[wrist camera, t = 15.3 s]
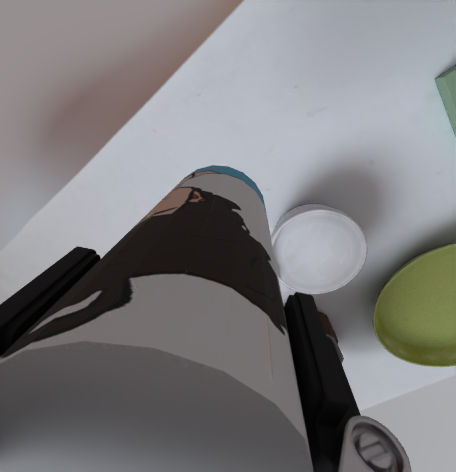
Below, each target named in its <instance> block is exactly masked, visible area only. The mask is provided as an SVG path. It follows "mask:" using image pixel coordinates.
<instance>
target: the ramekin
mask: <svg viewBox="0 0 456 472" xmlns="http://www.w3.org/2000/svg"><path fill="white" fill-rule="evenodd" d="M271 241H272V247H273V252H274V258H275V263H276V269H277V274H278V279H279V280H280V281H281V282H282V283H283V284H284V285H286V286H287V287H289V288H291V289H293V290H295V291H298V292H302V293H307V294H321V293H327V292H331V291H334V290H337V289H339V288H341V287H343V286H345V285H346V284H348V283H349V282H350V281H352V279H353V278H355V276H356V275H357V274H358V273H359V272H360V270H361V269H362V267H363V265H364V263H365V260H366V255H367V242H366V237H365V234H364V232H363V230H362V229H361V227H360V226H359V225H358V223H357V222H356V221H355V220H354V219H353V218H352V217H350V216H349V215H348V214H346V213H344V212H342V211H340V210H337V209H334V208H330V207H328V206H325V205H319V204H306V205H302V206H298V207H296V208H294V209H292V210H290V211H288V212H287V213H286V214H284V216H283V217H282V218H281V219H280V220H279V221H278V223H277V225H276V226H275V229H274V231H273V234H272V236H271Z"/></svg>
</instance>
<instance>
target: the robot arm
mask: <svg viewBox="0 0 456 472" xmlns="http://www.w3.org/2000/svg"><path fill="white" fill-rule="evenodd" d="M98 261H100V256H99V255H97V254H96V251H95V250H93V249H88V248H83V247H76V248H74V249H73V250H72V251H70V252H69V253H68V254H66V255H65V256H64V257H63V258H61V259H60V260H59V261H57V262H56V263H55V264H53V265H52V266H51V267H49V268H48V269H47V270H45V271H44V272H43V273H41V274H40V275H39V276H37V277H36V278H35V279H34V280H32V281H31V282H30V283H28V284H27V285H26V286H24V287H23V288H22V289H20V290H19V291H18V292H16V293H15V294H14V295H12V296H11V297H10V298H8V299H7V300H6V301H5V302H3V303H2V304H1V305H0V357H1V356H2V355H3V354H4V353H5V352H6V351H7V350H8V349H9V348H10V347H11V346H12V345H13V344H14V343H15V342H16V341H17V340H18V339H19V338H20V337H21V336H22V335H23V334H24V333H25V332H26V331H27V330H28V329H29V328H30V327H31V326H33V325H34V324H35V323H36V322H37V321H38V320H39V319H40V318H41V317H42V316H43V315H44V314H45V313H46V312H47V311H48V310H49V309H50V308H51V307H52V306H53V305H54V304H55V303H56V302H57V301H58V300H59V299H60V298H61V297H62V296H63V295H64V294H65V293H67V292H68V291H69V290H70V289H71V288H72V287H73V286H74V285H75V284H76V283H77V282H78V281H79V280H80V279H81V278H82V277H83V276H84V275H85V274H86V273H87V272H88V271H89V270H90V269H91V268H92V267H93V266H94V265H95V264H96V263H97V262H98ZM284 313H285V318H286V324H287V329H288V335H289V340H290V346H291V351H292V356H293V362H294V367H295V373H296V378H297V384H298V389H299V395H300V400H301V406H302V411H303V417H304V422H305V428H306V433H307V439H308V444H309V450H310V455H311V460H312V466H313V471H314V472H411V466H410V462H409V458H408V456H407V454H406V452H405V450H404V448H403V446H402V445H401V443H400V442H399V441H398V439H397V438H396V437H395V436H394V435H393V434H392V433H391V432H390V431H389V430H388V429H387V428H386V427H385V426H383V425H382V424H381V423H379V422H378V421H376V420H374V419H372V418H370V417H366V416H361V415H360V412H359V409H358V407H357V404H356V401H355V399H354V396H353V393H352V391H351V388H350V385H349V383H348V380H347V377H346V375H345V372H344V369H343V367H342V364H341V361H340V359H339V356H338V353H337V351H336V348H335V345H334V343H333V341H332V339H331V338H330V337H329V336H326V333H325V330H324V327H323V324H322V322H321V319H320V316H319V313H318V310H317V307H316V305H315V302H314V299H313V297H312V296H311V295H307V294H303V293H298V292H296V293H295V294H294V296H293V295H289V297H288V299H287V302H286V305H285V307H284Z"/></svg>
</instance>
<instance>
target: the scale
mask: <svg viewBox="0 0 456 472" xmlns="http://www.w3.org/2000/svg"><path fill="white" fill-rule="evenodd" d="M435 81H436V84H437V87H438V89H439V92H440V95H441V97H442V100H443V103H444V106H445V108H446V111H447V114H448V116H449V119H450V122H451V125H452V127H453V130H454V133H455V135H456V65H455V66H454V67H452V68H451V69H449V70H448V71H446V72H445V73H443V74H442V75H440V76H439V77H437V78H435Z"/></svg>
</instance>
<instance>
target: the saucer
mask: <svg viewBox="0 0 456 472" xmlns="http://www.w3.org/2000/svg"><path fill="white" fill-rule="evenodd" d="M373 326H374V331H375V334H376V336H377V338H378V340H379V342H380V343H381V344H382V346H383V347H384V348H385V349H386V350H387V351H389V352H390V353H391V354H392V355H394V356H396V357H397V358H399V359H401V360H404V361H406V362H409V363H413V364H417V365H422V366H431V367H449V366H456V243H453V244H448V245H444V246H441V247H438V248H435V249H432V250H430V251H427V252H425V253H423V254H421V255H419V256H417V257H415V258H413V259H412V260H410V261H409V262H407V263H406V264H404V265H403V266H402V267H401V268H399V269H398V270H397V271H396V272H395V273H394V274H393V275H392V276H391V277H390V278H389V280H388V281H387V282H386V284H385V285H384V287H383V288H382V290H381V292H380V294H379V296H378V298H377V301H376V304H375V307H374V313H373Z"/></svg>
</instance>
